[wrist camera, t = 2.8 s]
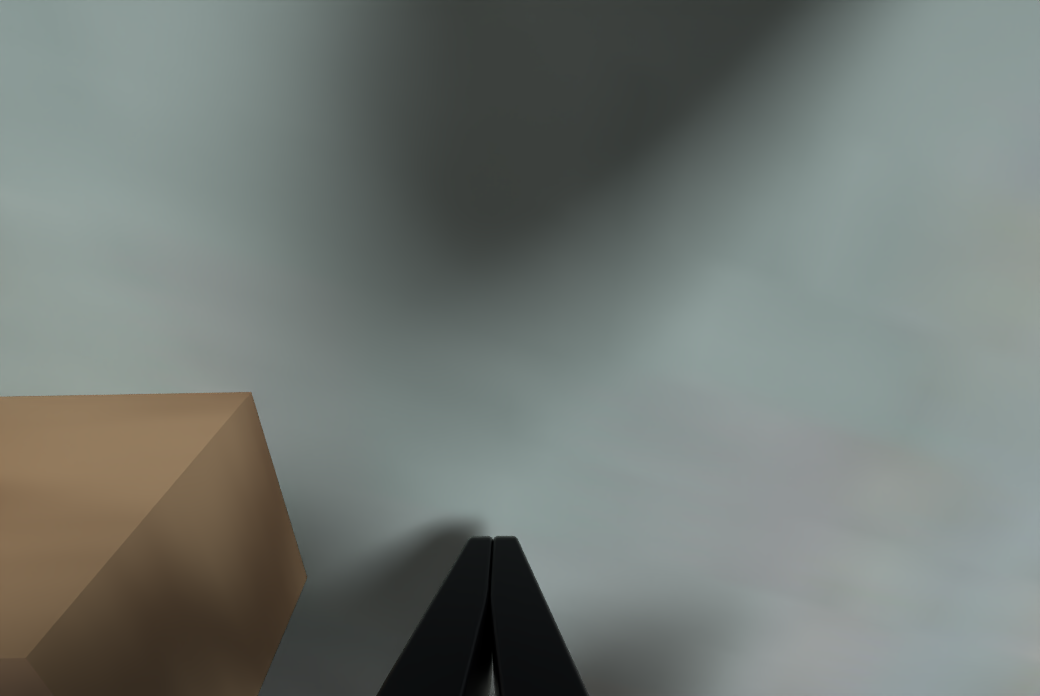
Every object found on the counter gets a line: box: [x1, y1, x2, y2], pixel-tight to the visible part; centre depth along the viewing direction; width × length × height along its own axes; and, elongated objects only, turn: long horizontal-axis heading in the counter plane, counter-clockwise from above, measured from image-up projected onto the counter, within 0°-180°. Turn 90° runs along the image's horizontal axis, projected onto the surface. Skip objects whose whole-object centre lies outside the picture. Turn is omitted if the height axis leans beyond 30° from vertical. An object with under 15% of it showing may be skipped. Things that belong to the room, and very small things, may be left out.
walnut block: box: [0, 392, 307, 696], centre depth 9 cm, size 5×5×5 cm
